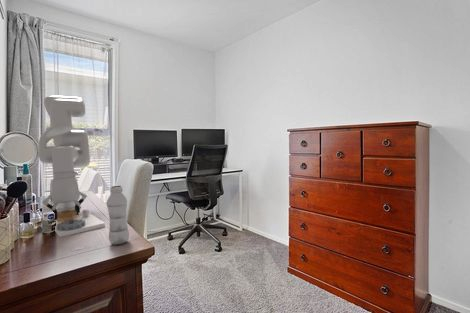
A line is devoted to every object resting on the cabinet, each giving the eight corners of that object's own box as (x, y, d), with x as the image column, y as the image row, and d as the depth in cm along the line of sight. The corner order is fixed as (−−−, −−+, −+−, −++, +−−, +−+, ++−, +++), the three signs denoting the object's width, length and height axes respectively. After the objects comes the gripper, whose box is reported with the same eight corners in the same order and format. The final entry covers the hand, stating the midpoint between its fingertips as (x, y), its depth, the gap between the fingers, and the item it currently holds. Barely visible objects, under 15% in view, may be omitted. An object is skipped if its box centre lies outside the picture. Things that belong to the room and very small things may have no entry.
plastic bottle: (119, 248, 86) (116, 188, 84) (104, 245, 88) (101, 187, 87) (133, 240, 92) (131, 185, 91) (118, 238, 94) (116, 184, 93)
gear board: (50, 225, 112) (50, 215, 111) (91, 217, 123) (91, 207, 122) (59, 237, 97) (58, 225, 97) (104, 226, 108) (104, 216, 108)
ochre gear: (55, 218, 111) (54, 212, 111) (74, 215, 116) (74, 208, 115) (58, 222, 106) (57, 215, 105) (78, 218, 110) (77, 211, 110)
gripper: (84, 172, 118) (86, 210, 119) (37, 177, 106) (40, 219, 107) (89, 174, 113) (91, 214, 114) (39, 179, 101) (42, 223, 102)
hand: (66, 216), depth 111 cm, fingers closed on ochre gear, 7 cm apart
